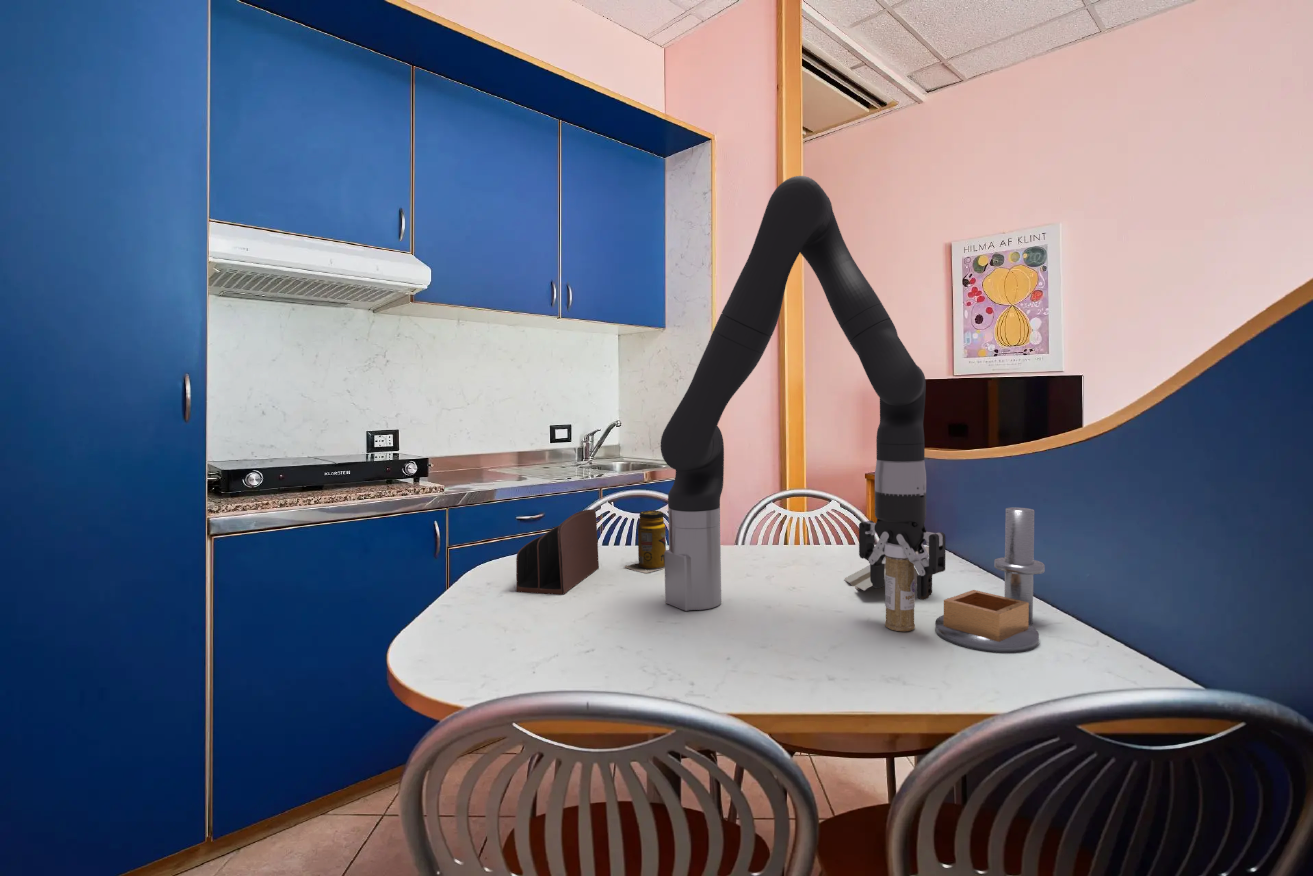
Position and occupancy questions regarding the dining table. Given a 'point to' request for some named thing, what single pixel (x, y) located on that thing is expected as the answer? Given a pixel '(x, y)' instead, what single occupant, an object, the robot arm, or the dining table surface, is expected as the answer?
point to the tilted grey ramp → (863, 576)
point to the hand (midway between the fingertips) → (900, 592)
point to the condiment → (650, 542)
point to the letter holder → (559, 556)
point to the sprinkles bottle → (899, 589)
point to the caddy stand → (999, 598)
